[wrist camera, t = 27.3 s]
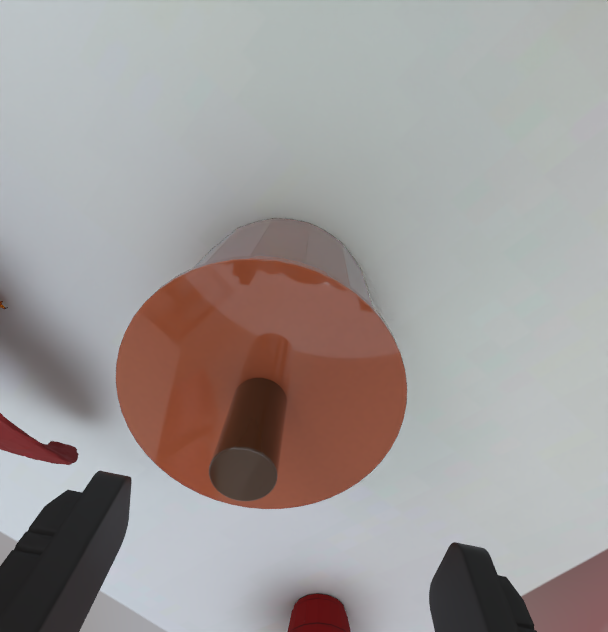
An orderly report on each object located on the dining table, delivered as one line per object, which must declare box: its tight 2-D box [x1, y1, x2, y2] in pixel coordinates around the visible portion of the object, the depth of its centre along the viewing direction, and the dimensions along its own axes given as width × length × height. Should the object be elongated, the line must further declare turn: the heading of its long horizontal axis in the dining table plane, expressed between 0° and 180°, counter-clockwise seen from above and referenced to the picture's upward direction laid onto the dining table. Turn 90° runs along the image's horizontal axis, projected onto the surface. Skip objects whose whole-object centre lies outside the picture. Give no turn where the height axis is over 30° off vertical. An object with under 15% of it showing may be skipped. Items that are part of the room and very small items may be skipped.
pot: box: [195, 218, 373, 306], centre depth 27 cm, size 13×13×12 cm
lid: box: [116, 255, 407, 509], centre depth 19 cm, size 14×14×6 cm
